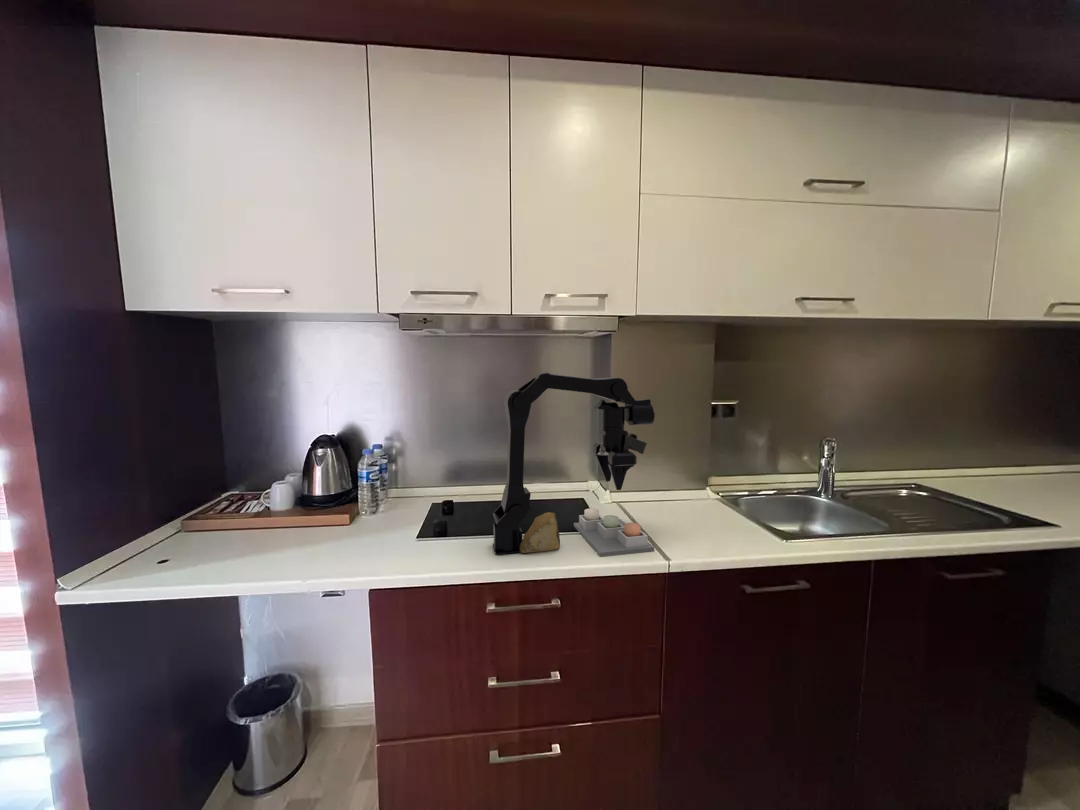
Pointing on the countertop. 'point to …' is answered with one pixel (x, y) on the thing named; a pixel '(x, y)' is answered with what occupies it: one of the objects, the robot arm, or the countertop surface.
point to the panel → (611, 538)
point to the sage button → (610, 521)
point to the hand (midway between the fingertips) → (613, 485)
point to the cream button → (591, 514)
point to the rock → (541, 535)
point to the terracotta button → (632, 529)
